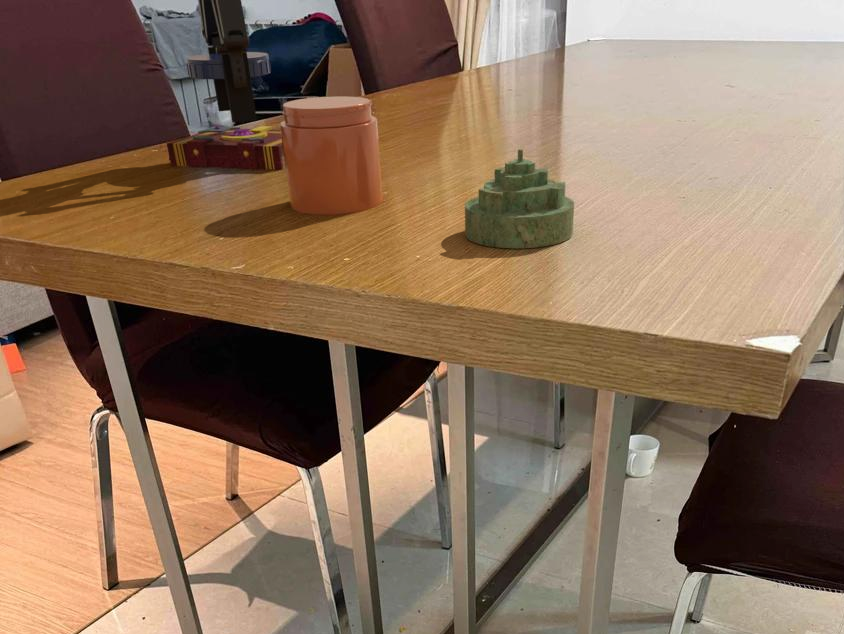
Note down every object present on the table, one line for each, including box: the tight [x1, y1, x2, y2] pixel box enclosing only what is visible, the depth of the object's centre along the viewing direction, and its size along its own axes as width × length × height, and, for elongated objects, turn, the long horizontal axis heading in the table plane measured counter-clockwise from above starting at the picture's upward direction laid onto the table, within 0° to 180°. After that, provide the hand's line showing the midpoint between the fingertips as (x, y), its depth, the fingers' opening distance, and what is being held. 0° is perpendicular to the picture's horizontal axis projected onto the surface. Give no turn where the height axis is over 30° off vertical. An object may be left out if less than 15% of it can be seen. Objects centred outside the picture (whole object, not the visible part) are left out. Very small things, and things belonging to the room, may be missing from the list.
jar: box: [279, 95, 384, 215], centre depth 80 cm, size 9×9×10 cm
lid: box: [186, 51, 272, 80], centre depth 96 cm, size 9×9×2 cm
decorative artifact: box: [464, 148, 575, 250], centre depth 76 cm, size 10×7×10 cm
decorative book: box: [166, 125, 286, 171], centre depth 102 cm, size 11×16×5 cm
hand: (237, 115), depth 99 cm, fingers closed on lid, 9 cm apart
